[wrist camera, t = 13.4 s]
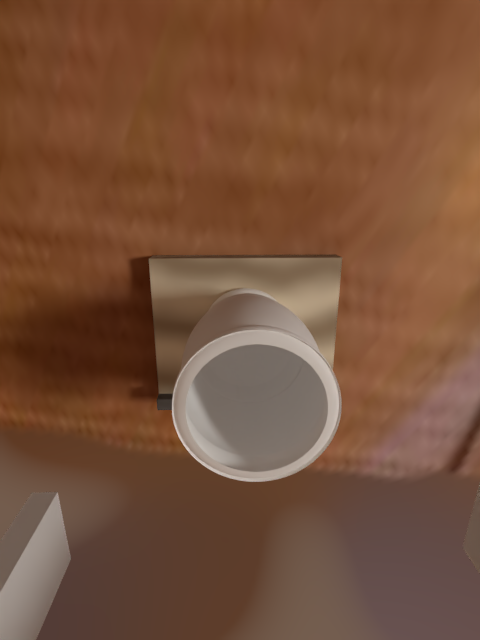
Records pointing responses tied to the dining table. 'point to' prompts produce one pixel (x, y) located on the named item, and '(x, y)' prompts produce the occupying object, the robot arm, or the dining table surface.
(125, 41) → the dining table surface
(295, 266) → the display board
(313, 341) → the jar
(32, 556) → the robot arm
